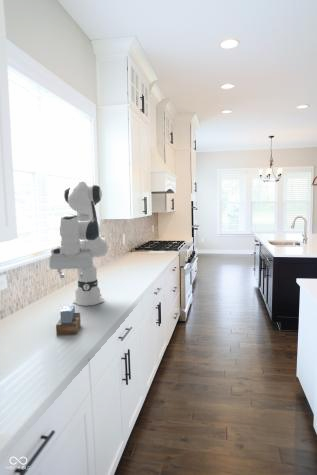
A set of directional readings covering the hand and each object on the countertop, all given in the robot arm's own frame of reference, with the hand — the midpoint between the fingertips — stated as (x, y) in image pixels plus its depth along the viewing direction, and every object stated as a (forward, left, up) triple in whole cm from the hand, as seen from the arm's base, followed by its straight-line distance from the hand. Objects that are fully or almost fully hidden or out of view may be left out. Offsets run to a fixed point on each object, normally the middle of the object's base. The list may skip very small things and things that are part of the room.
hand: (72, 277), depth 160 cm
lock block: (+3, -2, -20) cm, 20 cm away
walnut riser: (+2, -2, -25) cm, 25 cm away
